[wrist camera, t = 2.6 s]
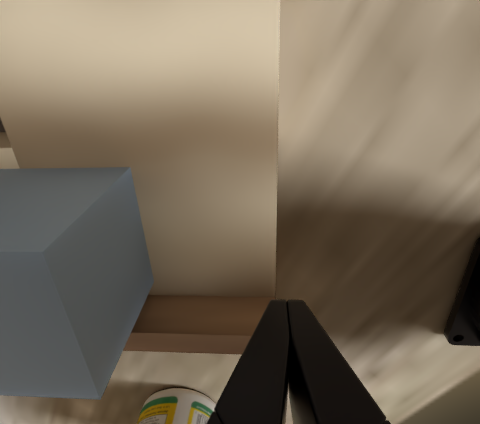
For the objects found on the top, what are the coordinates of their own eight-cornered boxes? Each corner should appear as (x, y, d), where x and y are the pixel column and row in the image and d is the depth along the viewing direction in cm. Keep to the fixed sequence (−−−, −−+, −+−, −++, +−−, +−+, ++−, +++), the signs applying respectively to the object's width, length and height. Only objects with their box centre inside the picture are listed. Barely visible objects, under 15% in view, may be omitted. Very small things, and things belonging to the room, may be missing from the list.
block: (153, 281, 14) (100, 399, 9) (39, 279, 14) (-66, 392, 9) (130, 167, 11) (42, 252, 7) (-7, 169, 12) (-175, 250, 7)
